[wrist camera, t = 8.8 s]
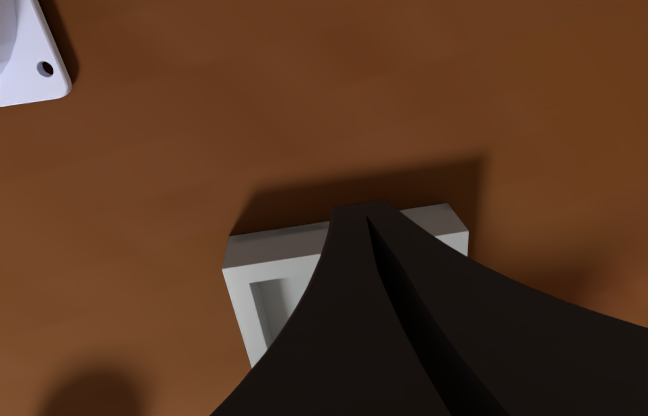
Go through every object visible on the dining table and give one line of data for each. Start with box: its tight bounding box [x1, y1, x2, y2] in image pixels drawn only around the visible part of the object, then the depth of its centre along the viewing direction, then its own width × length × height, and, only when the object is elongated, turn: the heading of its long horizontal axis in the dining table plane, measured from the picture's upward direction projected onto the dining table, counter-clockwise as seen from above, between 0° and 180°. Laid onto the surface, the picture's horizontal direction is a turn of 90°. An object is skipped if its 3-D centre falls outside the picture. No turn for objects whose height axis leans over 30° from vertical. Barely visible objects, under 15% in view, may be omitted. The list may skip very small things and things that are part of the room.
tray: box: [222, 203, 469, 368], centre depth 21 cm, size 14×10×2 cm
